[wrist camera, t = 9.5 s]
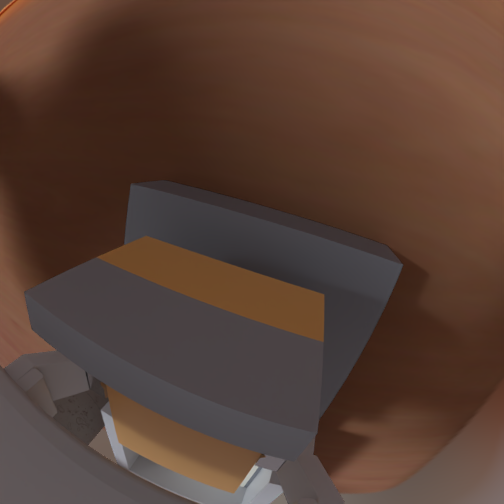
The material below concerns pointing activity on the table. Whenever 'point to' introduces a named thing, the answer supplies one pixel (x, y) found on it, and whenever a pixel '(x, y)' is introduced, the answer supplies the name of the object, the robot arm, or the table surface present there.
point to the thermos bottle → (81, 414)
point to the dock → (275, 266)
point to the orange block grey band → (191, 355)
